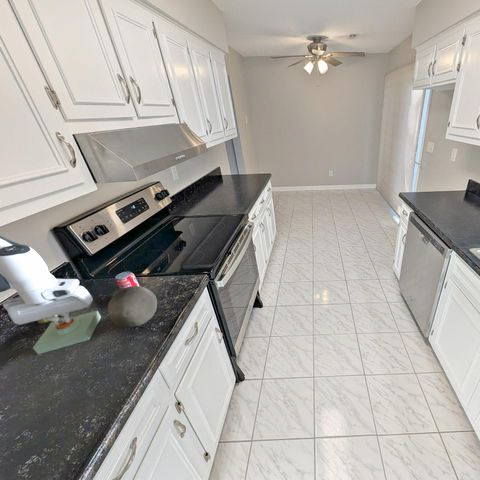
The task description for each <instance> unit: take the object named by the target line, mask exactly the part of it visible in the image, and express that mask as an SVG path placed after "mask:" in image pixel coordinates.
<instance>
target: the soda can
mask: <svg viewBox="0 0 480 480" xmlns="http://www.w3.org/2000/svg"><path fill="white" fill-rule="evenodd" d="M115 283H116V285H117V287H118V289H119V291H120V290H122V289H124V288H126V287H131V286H140V284H139V282H138V280H137V278H136V276H135V274H134V273H133V272H131V271H122V272H120V273H119V274H117V275H116V276H115Z"/></svg>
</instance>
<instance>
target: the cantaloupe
mask: <svg viewBox="0 0 480 480" xmlns="http://www.w3.org/2000/svg"><path fill="white" fill-rule="evenodd" d="M157 307H158V299H157V296H156V295H155V294H154V292H153V291H151V290H150V289H149V288H147V287H144V286H141V285H139V286H131V287H126V288H124V289H122V290H120V289H119V291H117V292H116V293H115V294H114V295H112V297H111V298H110V299H109V302H108V305H107V315H108V317H109V319H111V320H112V322H113V323H114V324H116V325H118V326H119V327H122V328H127V329H128V328H129V329H131V328H136V327H141V326H143V325H144V324H146V323H148V322H149V321H150V320H151V319H152V318H153V317H154V315H155V313H156V312H157V310H158V309H157Z"/></svg>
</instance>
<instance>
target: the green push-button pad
mask: <svg viewBox="0 0 480 480" xmlns="http://www.w3.org/2000/svg"><path fill="white" fill-rule="evenodd" d="M69 318H70V319H71V320H72V321H73V322H72V324H70V325H69V326H67V327H65V328H62V329H58V328H57V324H56V322H53V321H51V322H50V324H49V325H48V327H47V328H46V330H45V331H44V332H43V333H42V334H41V336H40V337H39V339H38V340H37V341H36V343H35V344H34V345H33V347H32V349H33V350H34V351H35V352H36V354H37V355H40V354H44V353H49V352H51V351H55V350H58V349H62V348H65V347H68V346H72V345H76V344H79V343H83V342H86V341H89V340H90V339H91V337H92V336H93V333H94V331H95V330H96V328H97V326H98V324H99V322H100V320H101V318H102V316H101V314H100V313H99V311H98V310H94V311H90V312H87V313H83V314H79V315H76V316H69Z"/></svg>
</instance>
